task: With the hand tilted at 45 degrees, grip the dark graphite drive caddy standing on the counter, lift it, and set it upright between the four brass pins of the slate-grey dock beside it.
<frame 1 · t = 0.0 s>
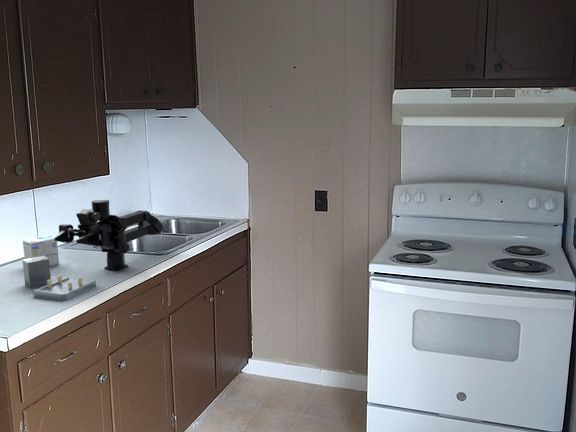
hand: (65, 240, 194), 17 cm above the countertop, tool horizontal, fingers open, 9 cm apart
dock: (65, 291, 194), on the countertop
light bulb box: (42, 266, 223), on the countertop
drive caddy: (38, 284, 201), on the countertop
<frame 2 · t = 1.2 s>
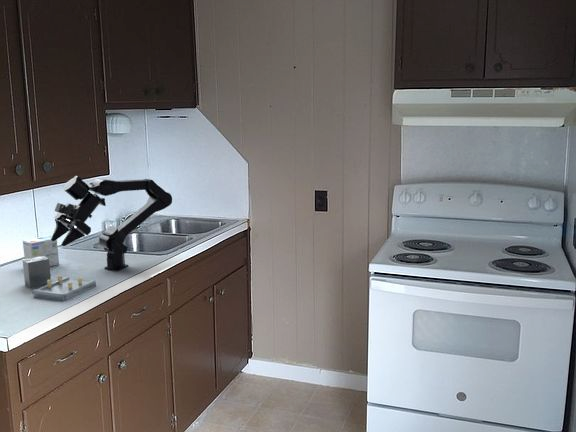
hand: (57, 243, 203), 13 cm above the countertop, tool tilted 45°, fingers open, 9 cm apart
nothing on the countertop moved.
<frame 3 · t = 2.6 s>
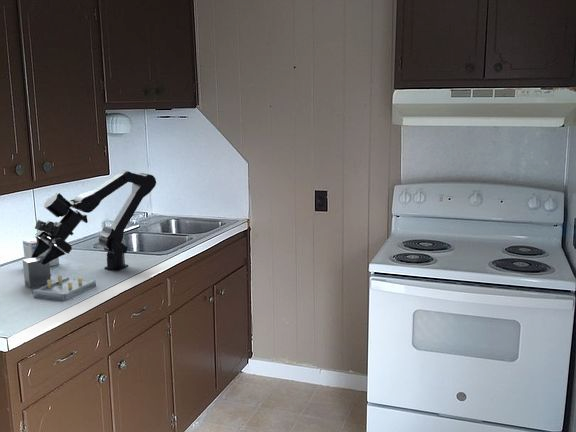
hand: (37, 261, 199), 8 cm above the countertop, tool tilted 45°, fingers open, 9 cm apart
nothing on the countertop moved.
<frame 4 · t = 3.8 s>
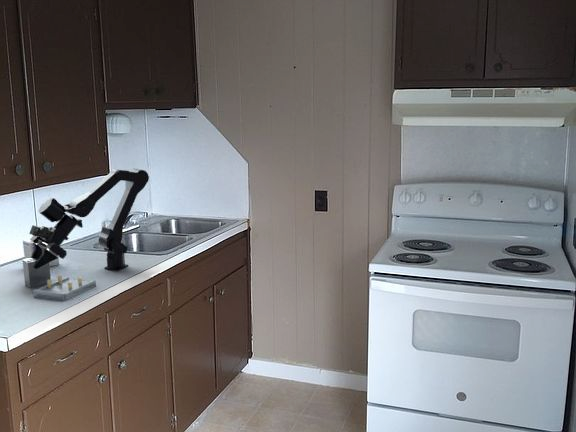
hand: (32, 266, 199), 7 cm above the countertop, tool tilted 45°, fingers closed on drive caddy, 5 cm apart
drive caddy: (38, 284, 201), on the countertop, touching gripper
everything else where it was.
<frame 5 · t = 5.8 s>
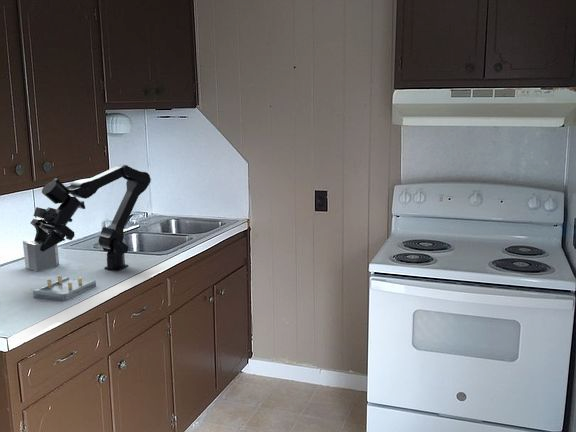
hand: (37, 249, 194), 13 cm above the countertop, tool tilted 45°, fingers closed on drive caddy, 5 cm apart
drive caddy: (43, 267, 197), point 7 cm above the countertop, touching gripper
everything else where it was.
when the fingers open (9 cm above the countertop, at t = 8.1 s): drive caddy drops 1 cm, resting on dock.
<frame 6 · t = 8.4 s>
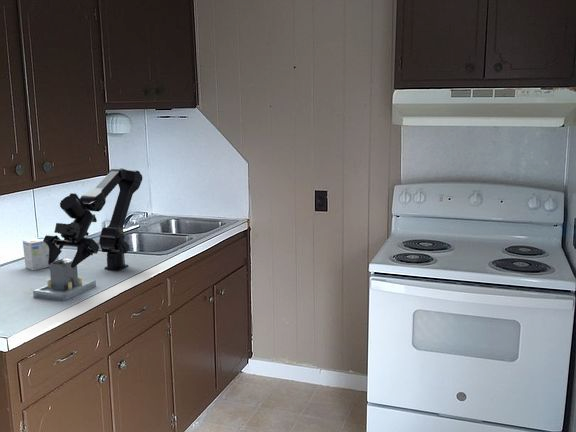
hand: (60, 266, 191), 9 cm above the countertop, tool tilted 45°, fingers open, 9 cm apart
drive caddy: (65, 287, 193), point 1 cm above the countertop, touching dock
everything else where it was.
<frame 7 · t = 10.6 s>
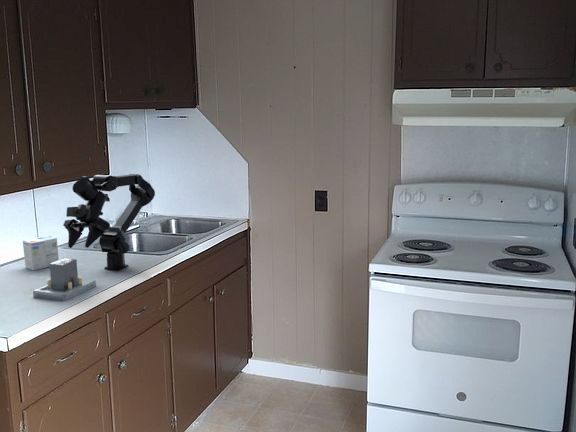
hand: (77, 247, 200), 13 cm above the countertop, tool tilted 35°, fingers open, 9 cm apart
nothing on the countertop moved.
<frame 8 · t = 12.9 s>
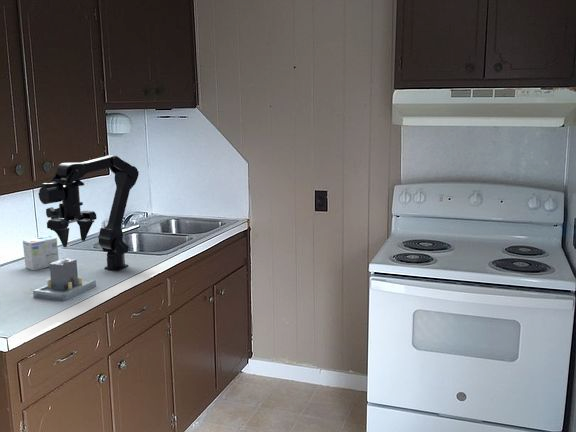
hand: (74, 243, 203), 13 cm above the countertop, tool pointing down, fingers open, 9 cm apart
nothing on the countertop moved.
at the end: drive caddy 0.0 cm off-centre on the dock, point 1.2 cm above the dock's base; drive caddy tilted 0°; the gripper is holding nothing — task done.
